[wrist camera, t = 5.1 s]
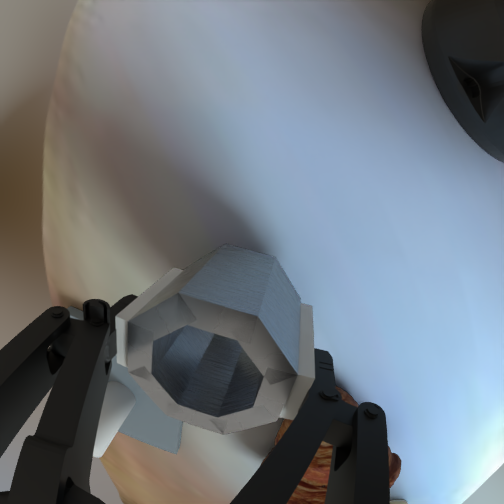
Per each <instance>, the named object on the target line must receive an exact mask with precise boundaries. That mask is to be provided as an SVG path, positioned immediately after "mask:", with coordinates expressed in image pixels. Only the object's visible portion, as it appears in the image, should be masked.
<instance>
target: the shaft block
mask: <svg viewBox="0 0 504 504" xmlns="http://www.w3.org/2000/svg"><path fill="white" fill-rule="evenodd" d="M67 309H68V310H69V312H70V318H74V319H79V320H84V317H83V311H81V310H79V309H76V308H74V307H72V306H70V307H69V308H67ZM182 423H183V421H180V420H177V419H175V418H172V417H169V416H167V415H166V414H165V413H164V412H163V411H162V410H161V409H160V408H159V407H158V406H157V405H156V404H155V403H154V402H153V401H152V399H151V398H150V397H149V396H148V395H147V394H146V393H145V392H144V390H143V389H142V388H141V387H140V386H139V385H138V383H137V382H136V381H135V380H134V379H133V378H132V376H131V375H130V374H129V373H128V368H127V367H125V366H122V365H120V364H118V363H117V355H115V356H114V357H113V358H112V368H111V372H110V376H109V380H108V384H107V388H106V392H105V396H104V401H103V405H102V410H101V414H100V419H99V424H98V429H97V434H96V440H95V445H94V451H93V456H94V457H102V455H103V453H104V452H105V450H106V449H107V447H108V446H109V444H110V442H111V441H112V439H113V438H114V436H115V435H116V433H117V431H119V432H121V433H123V434H125V435H128V436H130V437H132V438H135V439H137V440H139V441H142V442H144V443H147V444H149V445H152V446H155V447H157V448H160V449H163V450H165V451H168V452H171V453H174V454H177V452H178V450H179V447H180V440H181V431H182Z"/></svg>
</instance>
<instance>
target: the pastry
mask: <svg viewBox="0 0 504 504" xmlns="http://www.w3.org/2000/svg"><path fill="white" fill-rule="evenodd" d="M336 389H337V390H338V391H339V392H340V393H341V396H342V400H343V401H345V402H347V403H349V404H351V405H353V406H356V407H358V404H357V402H356V401H355V400H354V399H353V398H352V396H350V395H349V394H348V393H347V392H345V391H343V390H342V389H341V388H339V387H337V386H336ZM292 421H293V420H290V419H284V421H283V422H282V425H281V427H280V430H279V431H278V434H277V436H276V438H275V446H276V444H277V443H278V442H279V440H280V439H281V437H282V436H283V434H284V433H285V432H286V430H287V429H288V427H289V426H290V424H291V423H292ZM273 449H274V448H273ZM273 449H272V450H273ZM332 449H333V445H331V444H328V443H326V442H324V441H322V443H321V445H320V447H319V448H318V450H317V452H316V454H315V456H314V458H313V460H312V461H311V463H310V465H309V467H308V469H307V470H306V472H305V474H304V476H303V477H302V479H301V481H300V483H299V484H298V486H297V488H296V489H295V491H294V492H293V494H292V496H291V497H290V499H289V500H288V502H287V504H324V503H325V498H326V492H327V485H328V479H329V472H330V465H331V457H332ZM269 454H270V453H269ZM269 454H268V455H269ZM268 455H267V457H268ZM388 456H389V484H390V488H391V486H392V485H393V484H394V482H395V481H396V479H397V478H398V476H399V474H400V470H401V459H400V458H399V456H398V455H397V454H395V453H392V452H391V450H390V448H389V446H388ZM267 457H266V458H267ZM266 458H265V459H266ZM265 459H264V460H263V462H264V461H265ZM263 462H262V463H263ZM261 465H262V464H261Z"/></svg>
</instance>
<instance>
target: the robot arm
mask: <svg viewBox="0 0 504 504" xmlns="http://www.w3.org/2000/svg"><path fill="white" fill-rule="evenodd" d="M422 39H423V45H424V50H425V54H426V58H427V61H428V64H429V67H430V70H431V73H432V75H433V77H434V80H435V82H436V84H437V86H438V89H439V90H440V92H441V94H442V96H443V98H444V100H445V102H446V103H447V105H448V107H449V108H450V110H451V112H452V113H453V115H454V116H455V118H456V119H457V120H458V122H459V123H460V125H461V126H462V127H463V128H464V130H465V131H466V132H467V133H468V134H469V136H470V137H471V138H472V139H473V140H474V141H475V142H476V143H477V144H478V145H479V146H480V147H481V148H482V149H483V150H485V151H486V152H487V153H488V154H490V155H491V156H492V157H494V158H495V159H497V160H499V161H501V162H503V163H504V0H431V2H430V3H429V4H428V6H427V7H426V10H425V12H424V15H423V20H422ZM182 271H183V270H181V269H178V268H175V267H174V268H172V269H171V270H170V271H169V272H168V273H166V274H165V275H164V276H163V277H161V278H160V279H159V280H158V281H157V282H155V283H154V284H153V285H152V286H151V287H149V288H148V289H147V290H146V291H145V292H143V293H142V294H141V295H140V296H139V297H138V296H135V295H132V294H131V295H128V296H125V297H123V298H122V299H120V300H119V301H118V302H117V303H115V304H114V305H113V306H112V307H110V305H109V304H108V303H107V302H105V301H103V300H100V299H91V300H87V301H85V302H84V303H83V317H84V320H79V319H74V318H70V312H69V310H68V309H66V308H65V307H61V306H55V307H51V308H49V309H47V310H46V311H45V312H44V313H42V314H41V315H40V316H39V317H38V318H36V319H35V320H34V321H33V322H32V323H30V324H29V325H28V326H27V327H26V328H25V329H24V330H22V331H21V332H20V333H19V334H18V335H17V336H15V337H14V338H13V339H12V340H11V341H10V342H9V343H8V344H7V345H5V346H4V347H3V348H2V349H1V350H0V457H1V456H2V455H3V453H4V452H5V450H6V449H7V447H8V446H9V444H10V443H11V441H12V440H13V439H14V437H15V436H16V434H17V433H18V432H19V430H20V429H21V427H22V426H23V425H24V423H25V422H26V420H27V419H28V418H29V417H30V415H31V414H32V413H33V411H34V410H35V408H36V407H37V406H38V405H39V403H40V402H41V400H42V399H43V398H44V397H45V395H46V394H47V393H48V392H49V390H50V389H51V388H52V390H51V392H50V395H49V397H48V400H47V402H46V405H45V408H44V410H43V413H42V416H41V419H40V422H39V424H38V427H37V430H36V433H35V435H33V436H30V435H29V436H28V437H26V439H25V441H24V443H23V446H22V449H21V452H20V456H19V459H18V462H17V466H16V470H15V473H14V477H13V480H12V485H11V488H10V491H5V492H0V504H105V503H104V502H103V501H101V500H100V499H99V498H97V497H95V496H93V495H92V494H90V486H89V477H90V470H91V463H92V457H93V451H94V445H95V440H96V434H97V429H98V424H99V419H100V414H101V410H102V405H103V401H104V396H105V392H106V388H107V384H108V380H109V376H110V372H111V368H112V358H113V357H114V356H115V355H117V363H118V364H120V365H122V366H125V367H127V368H128V346H127V332H128V321H129V320H130V319H131V318H132V317H133V316H134V315H135V314H136V313H137V312H138V311H139V310H140V309H141V308H143V307H144V306H145V305H146V304H147V303H148V302H149V301H150V300H151V299H152V298H153V297H154V296H156V295H157V294H158V293H159V292H160V291H161V290H162V289H163V288H164V287H165V286H167V285H168V284H169V283H170V282H171V281H172V280H173V279H174V278H175V277H176V276H178V275H179V274H180V273H181V272H182ZM49 346H50V347H49ZM48 347H49V349H48ZM52 386H53V387H52ZM279 417H280V418H285V419H290V420H293V421H292V423H291V424H290V426H289V427H288V429H287V430H286V432H285V433H284V434H283V436H282V437H281V439H280V440H279V442H278V443H277V444H276V446H275V447H274V449H273V450H272V451H271V453H270V454H269V455H268V457H267V458H266V459H265V461H264V462H263V463H262V465H261V466H260V467H259V469H258V470H257V471H256V472H255V474H254V475H253V476H252V477H251V479H250V480H249V481H248V482H247V484H246V485H245V486H244V487H243V489H242V490H241V491H240V492H239V493H238V495H237V496H236V497H235V498H234V499H233V500H232V502H231V503H230V504H287V502H288V500H289V499H290V497H291V496H292V494H293V492H294V491H295V489H296V488H297V486H298V484H299V483H300V481H301V479H302V477H303V476H304V474H305V472H306V470H307V469H308V467H309V465H310V463H311V461H312V460H313V458H314V456H315V454H316V452H317V450H318V448H319V447H320V445H321V443H322V441H324V442H326V443H328V444H331V445H333V449H332V457H331V465H330V472H329V479H328V485H327V492H326V498H325V503H324V504H390V484H389V456H388V440H387V427H386V416H385V413H384V411H383V409H382V408H381V407H380V406H378V405H377V404H374V403H371V402H364V403H361V404H360V405H359V406H358V407H356V406H353V405H351V404H349V403H347V402H345V401H343V400H342V396H341V393H340V392H339V391H338V390H337V389H336V386H335V377H334V367H333V359H332V357H331V355H330V354H329V352H328V351H324V350H320V349H315V348H314V330H313V310H312V306H310V305H307V304H303V303H301V307H300V340H299V364H298V376H297V378H296V380H295V383H294V385H293V387H292V390H291V392H290V394H289V396H288V398H287V401H286V403H285V405H284V407H283V409H282V411H281V414H280V416H279Z"/></svg>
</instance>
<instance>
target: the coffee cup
mask: <svg viewBox="0 0 504 504" xmlns="http://www.w3.org/2000/svg"><path fill="white" fill-rule="evenodd" d="M390 504H408V503H407V501H405V500H391V501H390Z"/></svg>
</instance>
